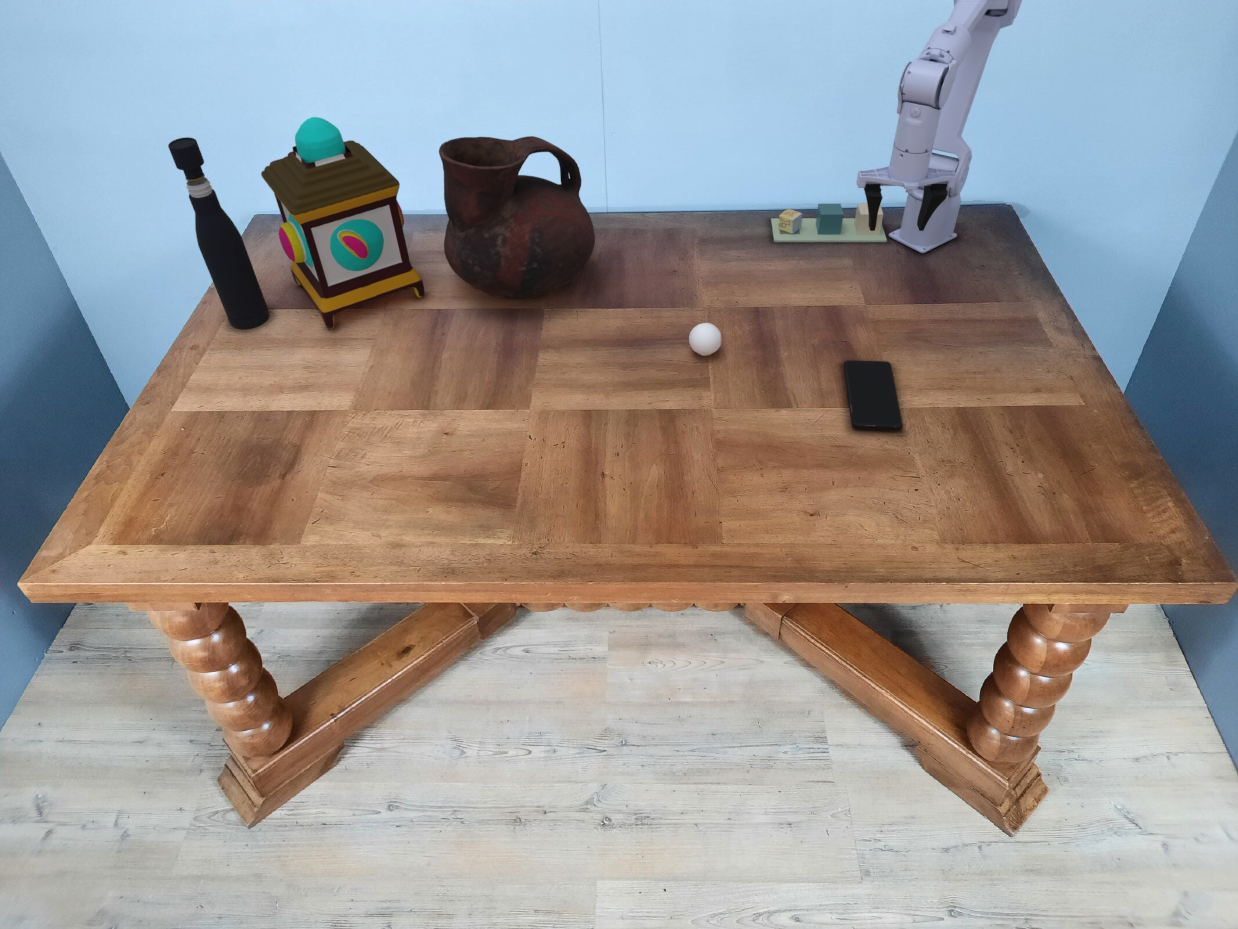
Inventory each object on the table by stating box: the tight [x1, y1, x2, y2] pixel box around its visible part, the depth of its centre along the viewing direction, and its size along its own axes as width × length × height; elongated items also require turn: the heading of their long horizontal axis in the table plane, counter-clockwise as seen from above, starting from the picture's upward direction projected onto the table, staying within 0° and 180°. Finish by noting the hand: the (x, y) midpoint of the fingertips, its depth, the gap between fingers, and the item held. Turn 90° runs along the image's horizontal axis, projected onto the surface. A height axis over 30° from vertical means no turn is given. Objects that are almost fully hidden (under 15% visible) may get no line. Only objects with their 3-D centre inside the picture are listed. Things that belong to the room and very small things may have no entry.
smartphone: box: [843, 359, 904, 432], centre depth 126 cm, size 7×1×15 cm
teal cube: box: [815, 203, 845, 235], centre depth 159 cm, size 4×4×4 cm
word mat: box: [770, 217, 888, 243], centre depth 160 cm, size 20×8×1 cm, turn 87°
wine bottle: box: [168, 136, 270, 330], centre depth 136 cm, size 6×6×30 cm
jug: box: [438, 135, 596, 300], centre depth 143 cm, size 25×25×25 cm
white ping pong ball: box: [688, 322, 722, 357], centre depth 134 cm, size 5×5×5 cm
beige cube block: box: [854, 203, 884, 234], centre depth 159 cm, size 4×4×4 cm
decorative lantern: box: [260, 116, 425, 330], centre depth 140 cm, size 20×20×30 cm
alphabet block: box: [778, 208, 803, 234], centre depth 160 cm, size 3×3×3 cm
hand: (895, 227), depth 141 cm, fingers open, 7 cm apart
